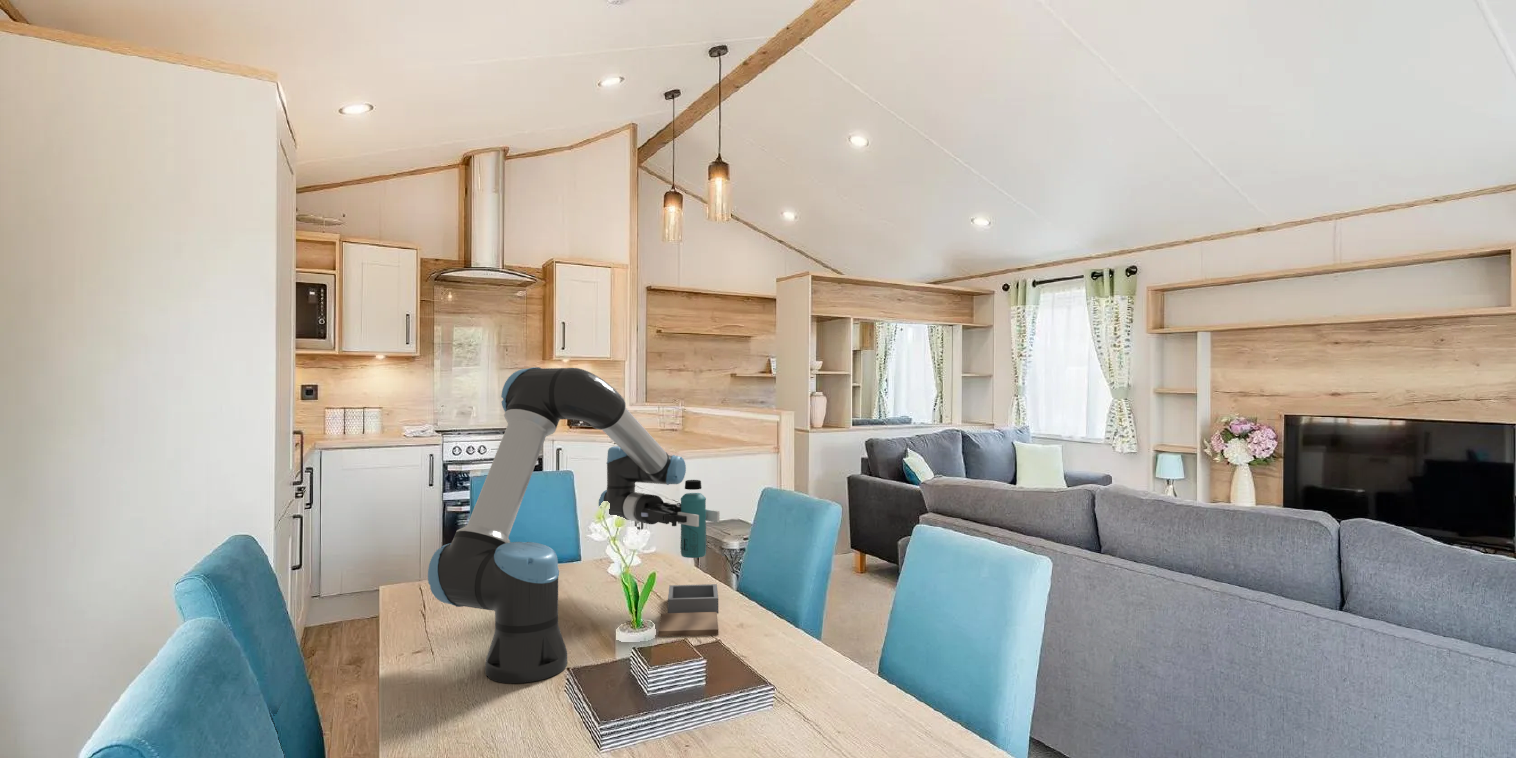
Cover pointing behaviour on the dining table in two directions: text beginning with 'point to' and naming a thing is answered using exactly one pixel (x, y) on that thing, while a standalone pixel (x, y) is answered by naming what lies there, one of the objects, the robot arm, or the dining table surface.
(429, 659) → the dining table surface
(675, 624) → the walnut board
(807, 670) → the dining table surface
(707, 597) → the gray square tray
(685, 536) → the beverage bottle
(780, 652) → the dining table surface
